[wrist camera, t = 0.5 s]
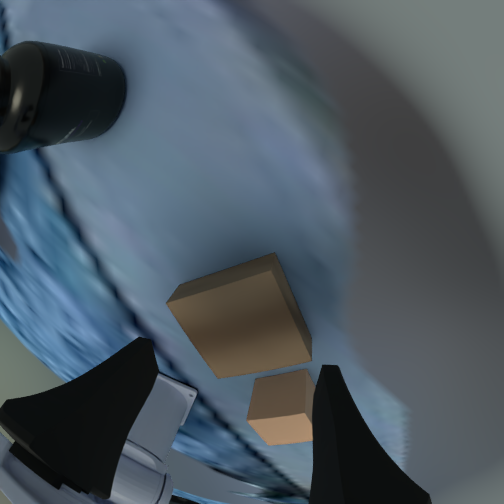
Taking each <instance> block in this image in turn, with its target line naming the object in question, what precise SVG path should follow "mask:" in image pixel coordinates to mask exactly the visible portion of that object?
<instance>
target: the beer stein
mask: <svg viewBox="0 0 504 504" xmlns="http://www.w3.org/2000/svg"><path fill="white" fill-rule="evenodd" d="M169 504H199V503H197V502H194V501H191V500H188V499H185V498H182V497H178V496H174V495H172V496H171V499H170V501H169Z"/></svg>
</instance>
